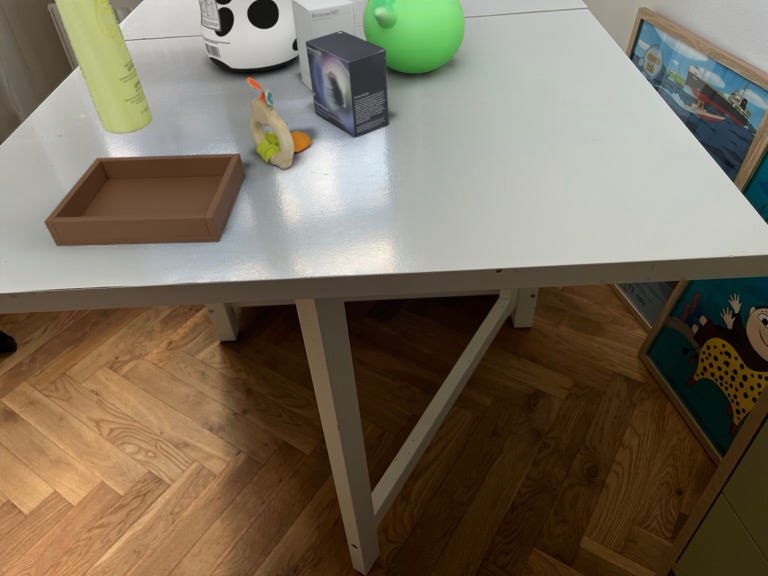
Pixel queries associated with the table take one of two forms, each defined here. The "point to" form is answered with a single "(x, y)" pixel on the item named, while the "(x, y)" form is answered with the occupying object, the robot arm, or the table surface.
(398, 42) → the toy bird
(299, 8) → the white packaging box
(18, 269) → the table surface
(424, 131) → the table surface
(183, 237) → the tray
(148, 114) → the tube
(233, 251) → the table surface
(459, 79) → the table surface
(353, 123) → the small box
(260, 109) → the rattle
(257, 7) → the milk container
